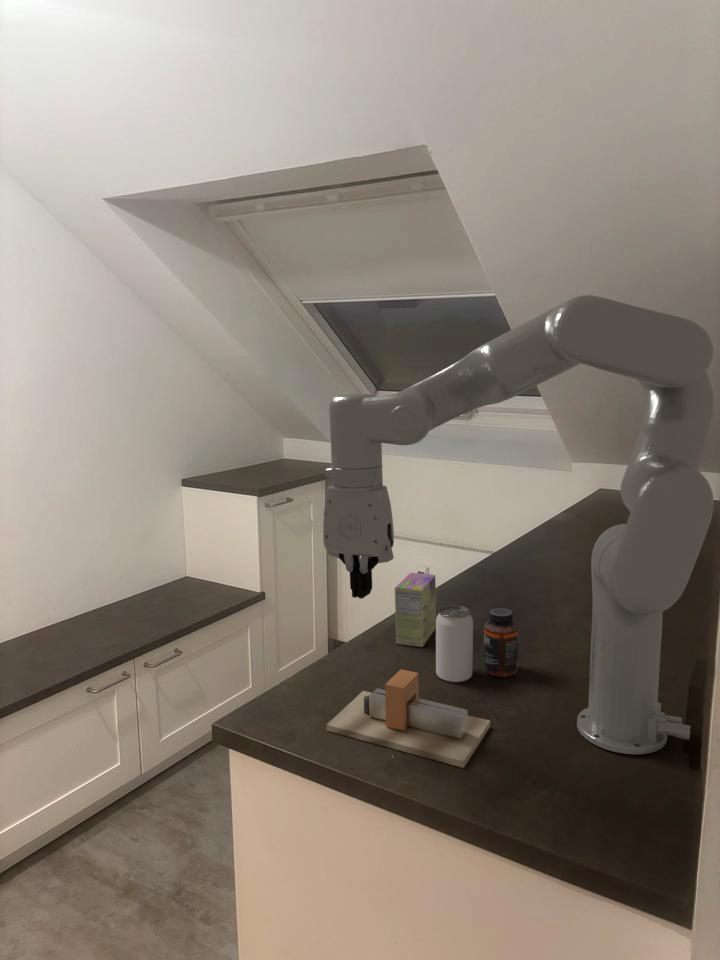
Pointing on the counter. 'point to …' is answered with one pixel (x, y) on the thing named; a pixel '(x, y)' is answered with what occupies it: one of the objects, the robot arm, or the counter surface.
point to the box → (415, 609)
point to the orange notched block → (400, 697)
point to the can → (454, 644)
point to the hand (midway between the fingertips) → (361, 595)
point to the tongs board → (408, 734)
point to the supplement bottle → (501, 644)
